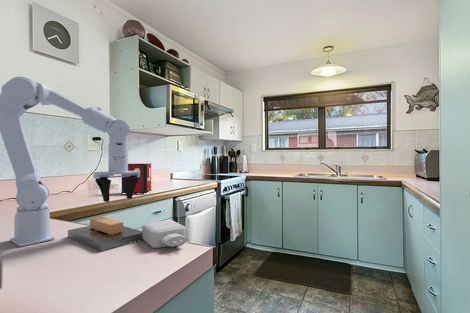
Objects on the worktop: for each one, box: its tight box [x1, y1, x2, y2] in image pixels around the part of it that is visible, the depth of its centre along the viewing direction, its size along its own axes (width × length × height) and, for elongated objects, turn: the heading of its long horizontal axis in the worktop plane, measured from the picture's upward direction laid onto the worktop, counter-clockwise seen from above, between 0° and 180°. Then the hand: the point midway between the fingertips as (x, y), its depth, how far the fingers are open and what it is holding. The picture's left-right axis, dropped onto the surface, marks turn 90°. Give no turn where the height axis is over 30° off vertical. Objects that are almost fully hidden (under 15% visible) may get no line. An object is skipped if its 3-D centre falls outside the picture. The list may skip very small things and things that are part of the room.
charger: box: [141, 219, 187, 249], centre depth 68 cm, size 5×9×15 cm
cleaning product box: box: [121, 163, 152, 194], centre depth 173 cm, size 16×9×20 cm, turn 90°
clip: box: [89, 216, 124, 236], centre depth 73 cm, size 12×4×5 cm, turn 53°
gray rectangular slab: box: [67, 225, 143, 252], centre depth 73 cm, size 20×12×2 cm, turn 53°
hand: (118, 200), depth 82 cm, fingers open, 7 cm apart
